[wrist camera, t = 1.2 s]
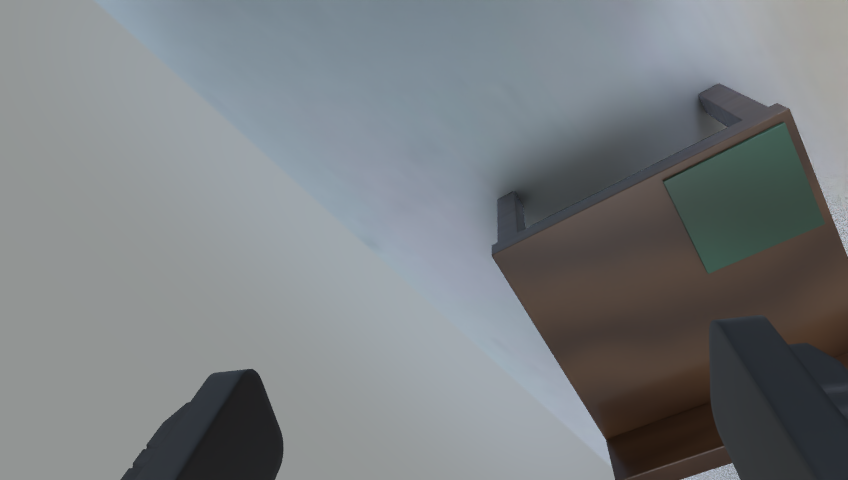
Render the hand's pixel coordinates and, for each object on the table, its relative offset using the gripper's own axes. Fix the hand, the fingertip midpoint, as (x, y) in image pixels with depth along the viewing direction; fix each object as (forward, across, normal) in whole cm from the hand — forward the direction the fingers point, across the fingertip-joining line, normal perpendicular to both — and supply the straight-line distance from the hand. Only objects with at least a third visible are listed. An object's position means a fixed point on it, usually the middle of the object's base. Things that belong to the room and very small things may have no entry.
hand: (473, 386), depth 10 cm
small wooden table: (+25, -8, +10) cm, 28 cm away
